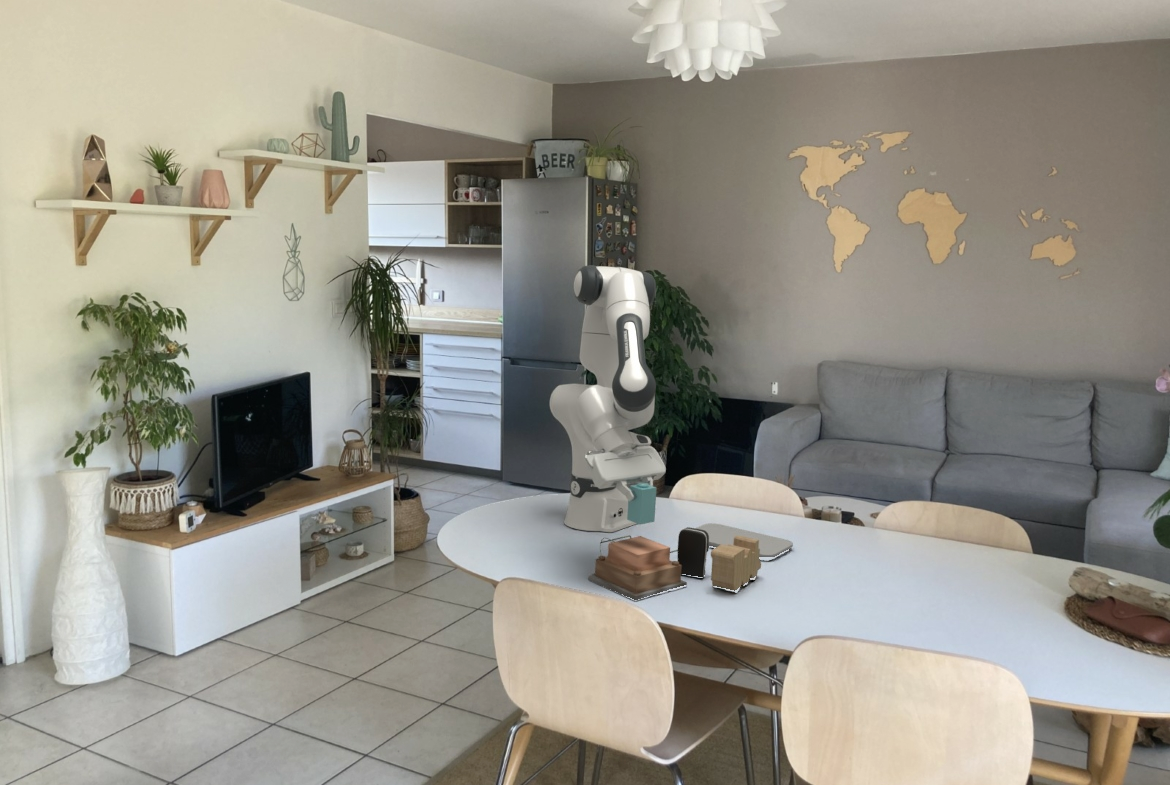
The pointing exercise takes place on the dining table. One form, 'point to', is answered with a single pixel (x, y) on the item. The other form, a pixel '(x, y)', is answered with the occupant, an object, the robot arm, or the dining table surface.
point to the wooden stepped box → (637, 568)
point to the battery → (693, 551)
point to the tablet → (726, 536)
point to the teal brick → (642, 504)
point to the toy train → (735, 563)
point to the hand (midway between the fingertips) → (642, 497)
